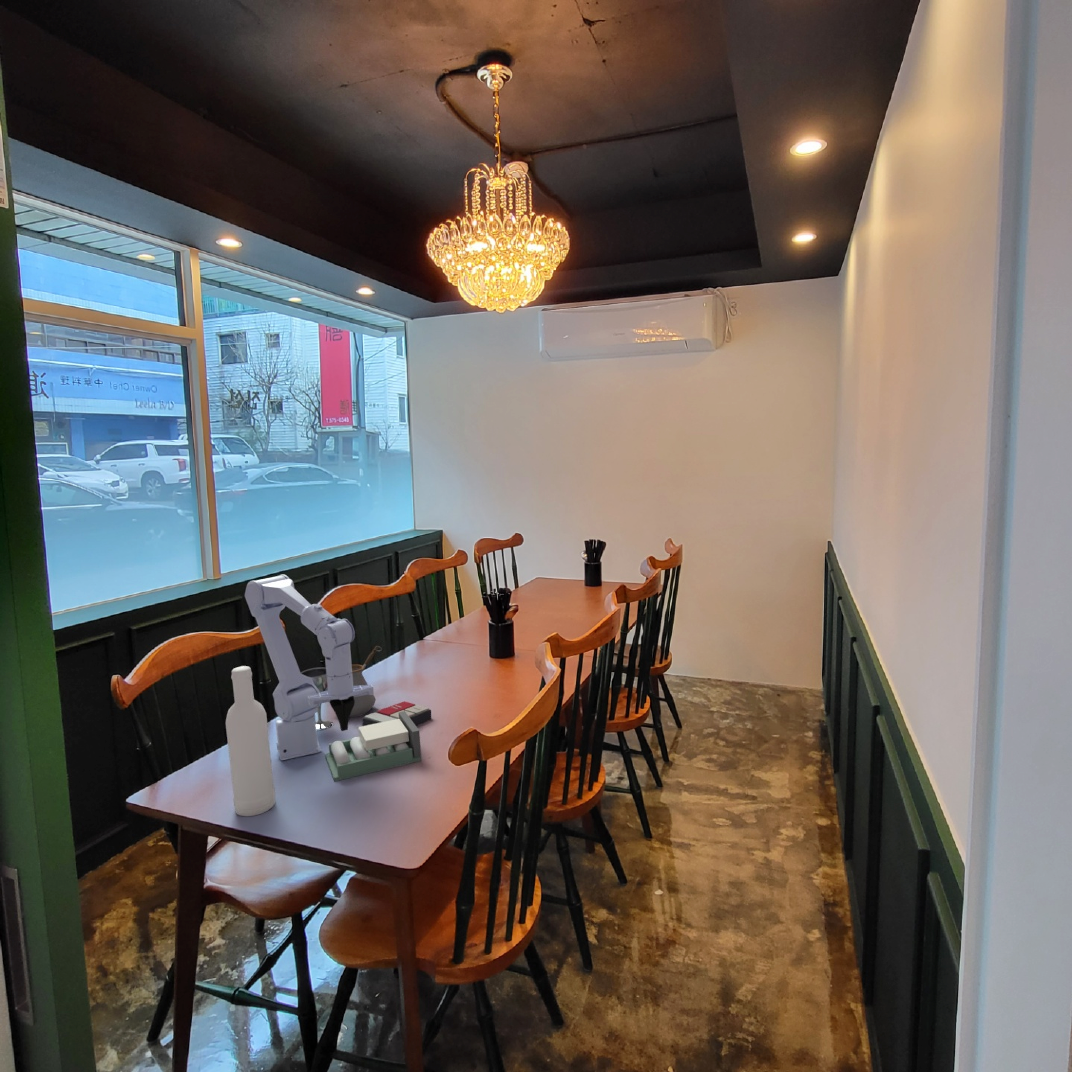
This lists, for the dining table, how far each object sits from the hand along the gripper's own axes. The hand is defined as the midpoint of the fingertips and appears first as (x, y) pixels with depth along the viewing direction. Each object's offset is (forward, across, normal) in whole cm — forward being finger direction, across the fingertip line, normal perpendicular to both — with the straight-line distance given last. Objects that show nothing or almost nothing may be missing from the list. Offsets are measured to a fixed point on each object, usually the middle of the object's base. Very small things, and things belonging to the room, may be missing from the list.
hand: (344, 729), depth 158 cm
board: (+5, +9, 0) cm, 10 cm away
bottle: (+9, -20, -10) cm, 25 cm away
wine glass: (+9, -2, +28) cm, 29 cm away
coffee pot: (+9, +11, +37) cm, 39 cm away
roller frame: (+9, +6, 0) cm, 10 cm away
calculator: (+9, +16, +18) cm, 26 cm away
